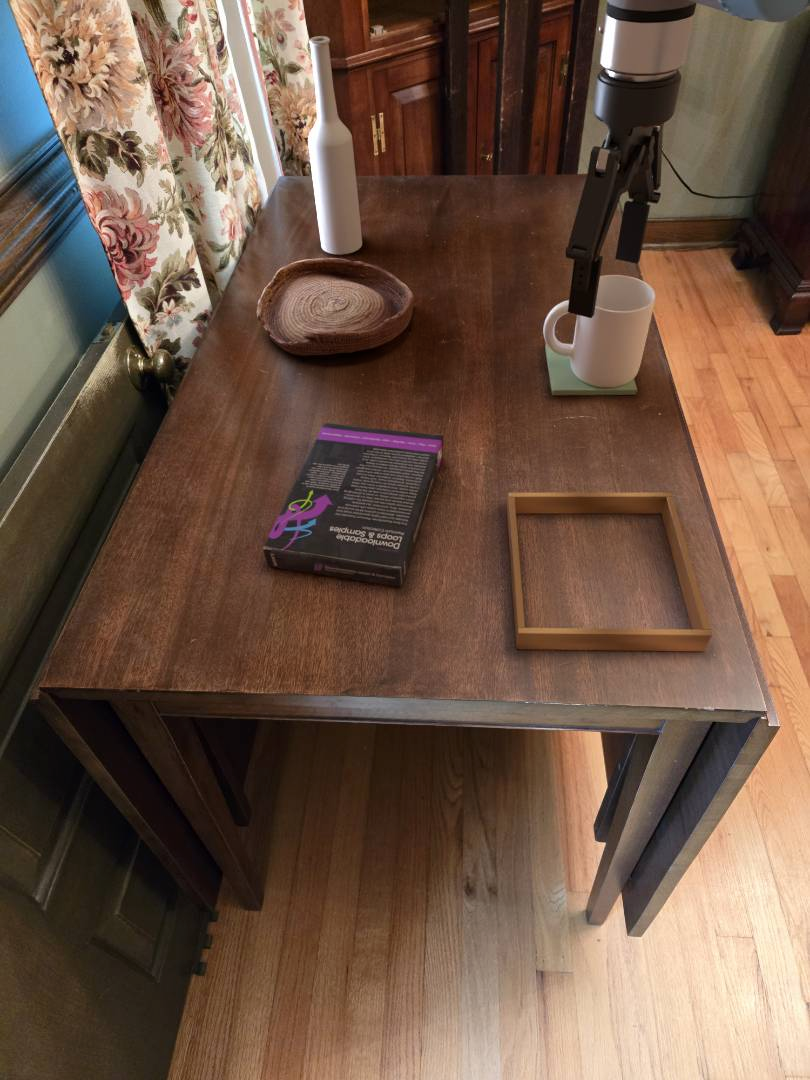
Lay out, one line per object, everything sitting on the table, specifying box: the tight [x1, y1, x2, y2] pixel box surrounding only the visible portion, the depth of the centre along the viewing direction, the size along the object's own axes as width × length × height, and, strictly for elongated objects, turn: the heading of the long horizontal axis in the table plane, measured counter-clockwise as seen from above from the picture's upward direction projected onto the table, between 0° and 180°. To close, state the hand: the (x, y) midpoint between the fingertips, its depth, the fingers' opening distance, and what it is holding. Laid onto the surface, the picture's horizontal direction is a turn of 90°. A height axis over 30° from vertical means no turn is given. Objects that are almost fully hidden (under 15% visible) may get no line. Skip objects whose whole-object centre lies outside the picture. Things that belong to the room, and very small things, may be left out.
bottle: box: [307, 35, 363, 256], centre depth 106 cm, size 7×7×28 cm
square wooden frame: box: [506, 492, 713, 652], centre depth 68 cm, size 16×17×2 cm
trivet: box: [544, 342, 638, 396], centre depth 90 cm, size 10×10×1 cm
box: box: [262, 422, 444, 588], centre depth 75 cm, size 14×4×20 cm
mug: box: [542, 274, 657, 388], centre depth 86 cm, size 12×8×10 cm
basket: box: [256, 257, 415, 357], centre depth 99 cm, size 22×20×5 cm
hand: (604, 286), depth 82 cm, fingers open, 13 cm apart
